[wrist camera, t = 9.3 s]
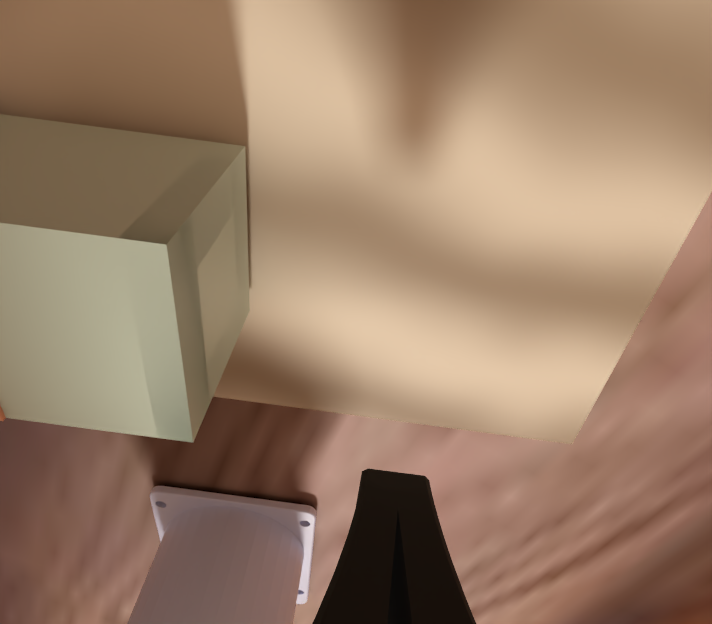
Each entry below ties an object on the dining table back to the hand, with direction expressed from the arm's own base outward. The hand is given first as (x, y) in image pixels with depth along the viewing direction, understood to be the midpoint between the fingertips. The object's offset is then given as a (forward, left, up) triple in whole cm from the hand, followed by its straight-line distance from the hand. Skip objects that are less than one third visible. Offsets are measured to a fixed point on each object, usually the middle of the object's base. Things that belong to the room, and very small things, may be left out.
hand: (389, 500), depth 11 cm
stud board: (+3, +4, -8) cm, 9 cm away
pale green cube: (+3, +7, -6) cm, 10 cm away
